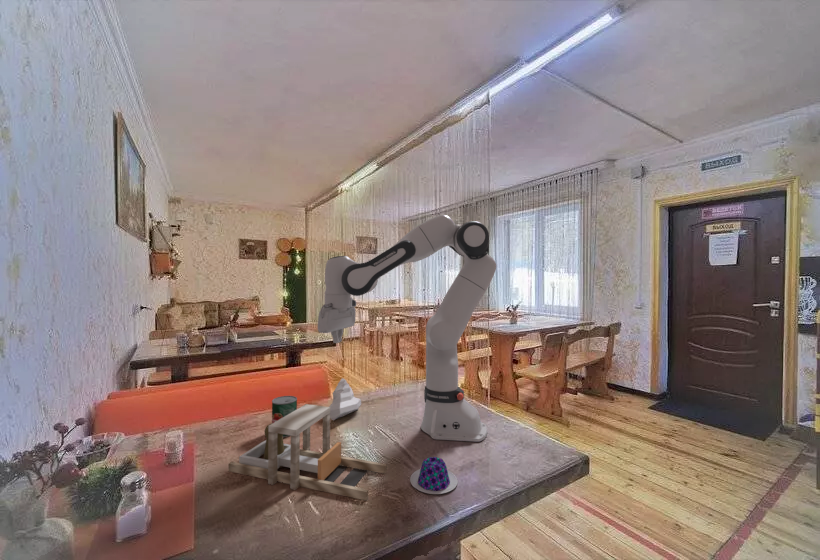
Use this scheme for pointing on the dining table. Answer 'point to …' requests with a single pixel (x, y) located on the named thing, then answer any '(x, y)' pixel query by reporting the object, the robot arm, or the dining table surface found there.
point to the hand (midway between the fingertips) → (337, 342)
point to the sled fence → (306, 463)
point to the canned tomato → (283, 408)
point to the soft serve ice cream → (343, 401)
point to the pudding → (433, 477)
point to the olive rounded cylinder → (279, 444)
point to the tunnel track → (294, 426)
